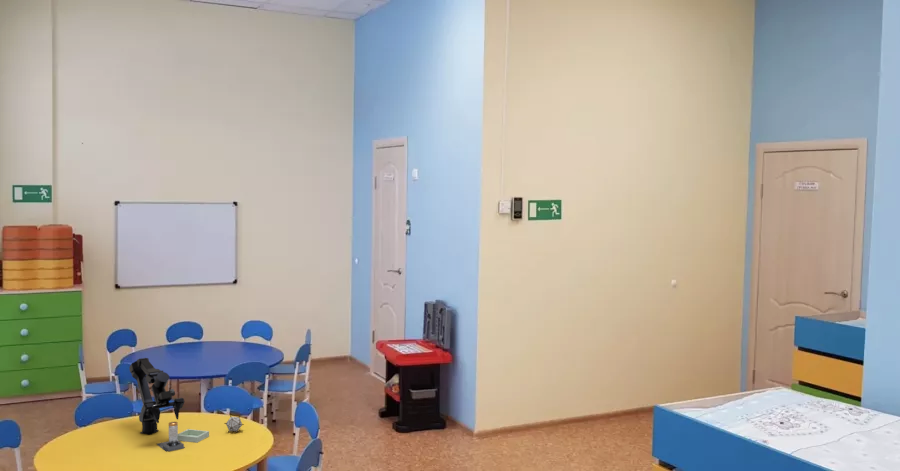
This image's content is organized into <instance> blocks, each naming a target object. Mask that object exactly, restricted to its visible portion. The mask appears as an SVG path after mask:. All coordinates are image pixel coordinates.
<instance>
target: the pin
mask: <svg viewBox="0 0 900 471" xmlns="http://www.w3.org/2000/svg"><path fill="white" fill-rule="evenodd" d="M178 425H179V424H178V422H177V421H171V422H168V441H169V446H174V445H178V434H179V428H178Z"/></svg>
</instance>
